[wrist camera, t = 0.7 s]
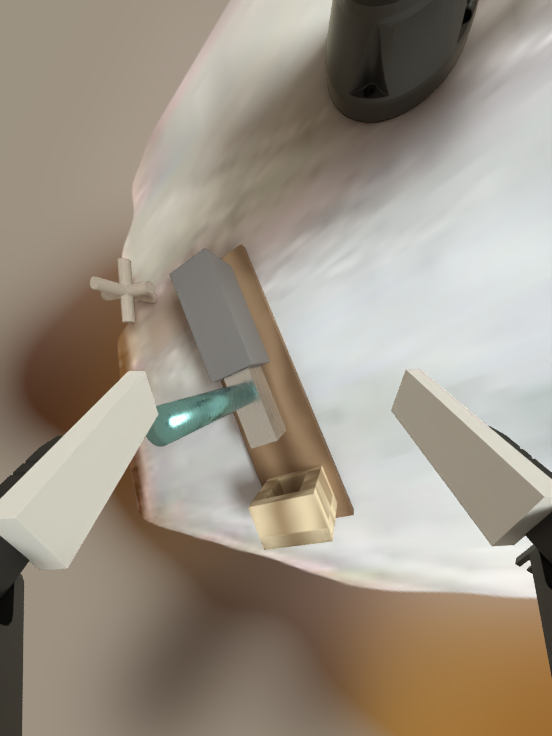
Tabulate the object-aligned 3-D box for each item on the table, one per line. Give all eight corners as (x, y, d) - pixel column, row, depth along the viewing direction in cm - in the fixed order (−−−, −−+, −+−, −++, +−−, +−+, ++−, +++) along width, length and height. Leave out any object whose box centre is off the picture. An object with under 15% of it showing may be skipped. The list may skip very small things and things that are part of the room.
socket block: (321, 465, 32) (313, 493, 26) (337, 502, 32) (332, 541, 25) (268, 478, 35) (248, 507, 29) (281, 513, 35) (264, 549, 28)
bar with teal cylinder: (225, 279, 34) (99, 209, 17) (286, 430, 32) (212, 513, 16) (205, 292, 35) (70, 239, 19) (262, 437, 33) (171, 522, 17)
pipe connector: (135, 327, 44) (75, 320, 34) (131, 275, 43) (69, 253, 34) (176, 323, 40) (121, 314, 31) (172, 266, 40) (115, 239, 30)
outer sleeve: (231, 266, 35) (204, 248, 29) (270, 361, 34) (251, 364, 27) (200, 286, 37) (169, 274, 31) (235, 377, 36) (211, 382, 30)
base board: (244, 247, 35) (241, 244, 34) (353, 509, 32) (353, 514, 31) (188, 286, 39) (183, 284, 38) (280, 521, 36) (277, 527, 35)
